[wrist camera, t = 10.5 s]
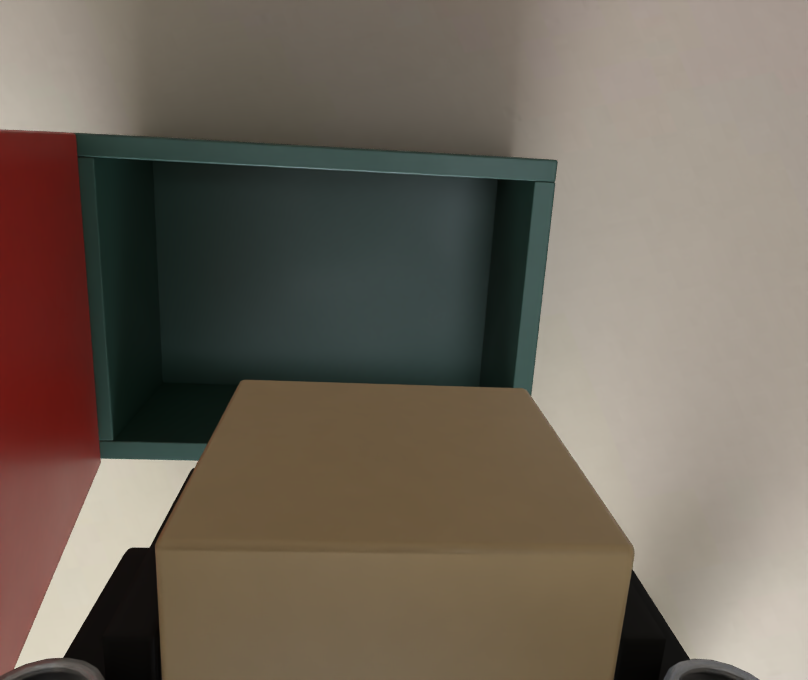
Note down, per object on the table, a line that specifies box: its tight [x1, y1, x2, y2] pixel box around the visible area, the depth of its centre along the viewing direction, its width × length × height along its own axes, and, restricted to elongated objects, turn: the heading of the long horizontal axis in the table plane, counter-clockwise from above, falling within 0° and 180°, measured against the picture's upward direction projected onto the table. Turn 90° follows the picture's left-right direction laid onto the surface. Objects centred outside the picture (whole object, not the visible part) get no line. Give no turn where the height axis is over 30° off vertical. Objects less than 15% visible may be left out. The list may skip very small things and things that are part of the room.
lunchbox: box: [75, 133, 557, 461], centre depth 30 cm, size 18×13×8 cm
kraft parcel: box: [155, 380, 634, 680], centre depth 9 cm, size 4×6×4 cm
